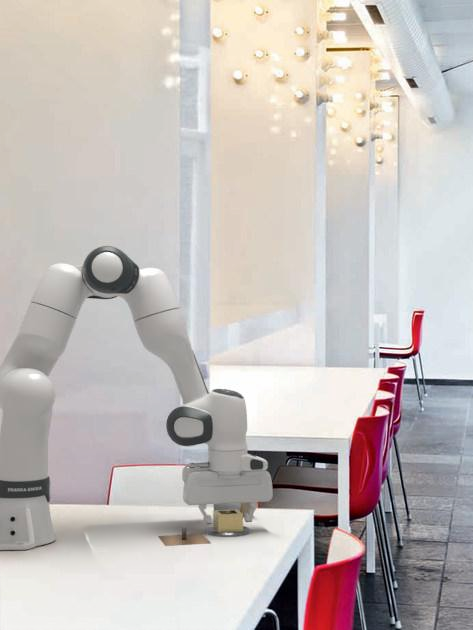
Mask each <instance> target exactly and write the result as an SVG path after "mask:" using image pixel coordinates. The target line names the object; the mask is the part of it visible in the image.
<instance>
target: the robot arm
mask: <svg viewBox="0 0 473 630" xmlns="http://www.w3.org/2000/svg"><path fill="white" fill-rule="evenodd" d="M117 297H120V298H122V299H123V300H124V301H125V302H126V304H127V305H128V308H129V309H130V313H131V316H132V320H133V323H134V326H135V330H136V332H137V335H138V337H139V340H140V342H141V343H142V345H143V347H144V349H146V350H147V351H148V352H149V353H151V354H153V355H154V356H155V357H158V358H159V359H160V360H162V361H163V362H164V363H165V364H166V365H167V367H168V368H169V369H170V371H171V372H172V375H173V378H174V380H175V383H176V385H177V388H178V391H179V394H180V397H181V399H182V405H179V406H176V407H175V408H174V409H172V411H171V412H169V414H168V416H167V419H166V423H165V426H166V432H167V435H168V437H169V438H170V440H172V442H173V443H175V444H176V445H178V446H181V447H194V446H197V445H202V444H204V445H205V444H206V446H207V449H208V450H207V454H208V455H207V456H208V457H207V460H208V461H207V462H205V461H204V462H189V463H188V464H186V465H185V466H184V467H183V468H182V471H181V472H182V474H181V476H182V481H183V491H182V492H183V493H182V500H183V502H184V503H185V504H187V505H188V506H198V509H199V511H200V513H201V515H202V516H203V524H204V525H212V515H210V514H207V512H206V511H205V510H207V505H214V504H225V503H246V502H249V505H250V506H251V508H250V509H249V511H248V513H244V516H245V517H244V518H243V521H244V522H245V523H252V522H253V516H252V514H253V513H255V511H256V510H257V508H258V503H263V502H264V503H265V502H267V503H268V502H271V500H272V498H273V496H274V494H273V482H272V476H271V474H270V472H269V471H268V469H269V462H268V461H267V460H266V459H265V458H262V457H260V456H257V455H255V454H252V453H248V445H247V441H246V439H247V438H246V437H247V436H246V435H247V433H248V432H247V431H248V413H247V412H248V411H247V404H246V400H245V397H244V396H243V395H242V394H241V393H239V392H237V391H235V390H231V389H227V388H223V389H222V388H215V389H212V390H210V391H209V389H208V387H207V385H206V382H205V379H204V377H203V374H202V371H201V368H200V365H199V363H198V360H197V357H196V355H195V353H194V349H193V347H192V343H191V340H190V338H189V335H188V332H187V327H186V324H185V319H184V316H183V313H182V309H181V307H180V304H179V300H178V297H177V295H176V292H175V291H174V288H173V286H172V284H171V281H170V280H169V278H168V276H167V275H166V273H165V272H164V271H163V270H161V269H159V268H157V267H145V268H140V267H139V265H138V264H136V263H135V261H133V260H132V259H131V257H129V255H127V254H126V253H125V252H124V251H123V250H121V249H120V248H117V247H116V246H115V247H114V246H111V245H103V246H98V247H96V248H94V249H93V250H91V251H90V252H89V253H88V254H87V256H86V257H85V260H84V262H83V264H80V265H72V264H70V263H65V262H64V263H62V262H58V263H55V264H51V265H50V266H49V267H48V268H47V270H46V271H45V272H44V274H43V275H42V277H41V279H40V280H39V282H38V284H37V286H36V288H35V290H34V292H33V294H32V297H31V300H30V302H29V304H28V307H27V310H26V311H25V314H24V317H23V318H22V319H23V320H22V322H21V325H20V327H19V330H18V333H17V335H16V337H15V339H14V340H13V342H12V344H11V346H10V348H9V350H8V351H7V353H6V355H5V357H4V359H3V360H2V363H1V365H0V409H1V410H2V416H1V417H2V418H1V426H0V551H11V550H13V551H14V550H15V551H17V550H21V551H24V550H31V549H33V548H36V547H38V546H42V545H47V544H49V543H53V542H55V540H56V539H57V538H56V534H55V531H54V527H53V522H52V516H51V510H50V509H51V508H50V502H51V493H52V492H51V486H52V485H51V480H50V478H51V477H50V476H49V461H48V460H49V459H48V458H49V455H48V454H49V453H48V451H49V450H48V449H49V435H50V429H51V423H52V414H53V405H54V403H55V400H56V389H55V387H54V383H53V382H52V381H51V379H50V374H51V373H52V371H53V369H54V367H55V365H56V363H57V362H58V360H59V359H60V357H62V355H63V354H64V352H65V350H66V348H67V345H68V342H69V340H70V337H71V334H72V332H73V329H74V327H75V324H76V321H77V319H78V316H79V313H80V311H81V308H82V306H83V304H84V302H86V299H96V300H97V299H98V300H112V299H115V298H117ZM253 515H254V514H253Z"/></svg>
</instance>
